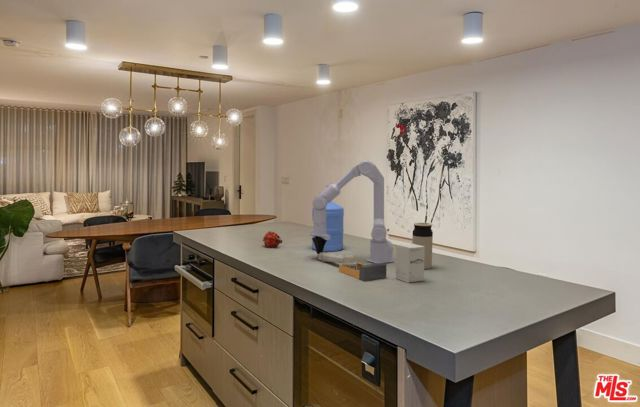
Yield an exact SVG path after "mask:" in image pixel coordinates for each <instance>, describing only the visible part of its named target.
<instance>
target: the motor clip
mask: <svg viewBox="0 0 640 407" xmlns="http://www.w3.org/2000/svg"><path fill="white" fill-rule="evenodd" d="M356 263H357V265H356V270H355V269H353V268H350V267H347V266H344V265H342V264H339V265H338V271H339V272H340V273H343V274H346V275H348V276H350V277H353V278H356V279H358V280H360V281H363V282H369V281H374V280H382V279H386V278H387V263H377V264H376V263H371V264H365V263H361V262H356Z"/></svg>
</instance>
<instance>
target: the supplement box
mask: <svg viewBox="0 0 640 407" xmlns="http://www.w3.org/2000/svg"><path fill="white" fill-rule="evenodd" d="M424 255H425V247H424V246H420V245H416V244H412V243H404V244H396V256H395V257H396V261H395V262H396V263H395V279H397V280H400V281H401V282H405V283H409V284H410V283H414V282H424V280H425V269H424Z"/></svg>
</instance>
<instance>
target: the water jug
mask: <svg viewBox="0 0 640 407" xmlns="http://www.w3.org/2000/svg"><path fill="white" fill-rule="evenodd" d="M311 213H312V217H313V213H314V206H313V207H312V212H311ZM344 214H345V212H344V207H343V206H341V205H339V204H338V203H335V202H334V201H333V200H332V201H331V202H330V203H328V204H327V206H326V233H327V234H328V235H330V240H327V242H326V243H325V246H324V249H323V252H328V253H331V252H339V251H342V250H343V249H344V230H345V229H344V216H345V215H344ZM312 238H315V236H312V237H311V239H312ZM311 242H312V244H311V248H312V250H314V251H316V248H315V244H314V242H313V240H312V241H311Z"/></svg>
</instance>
